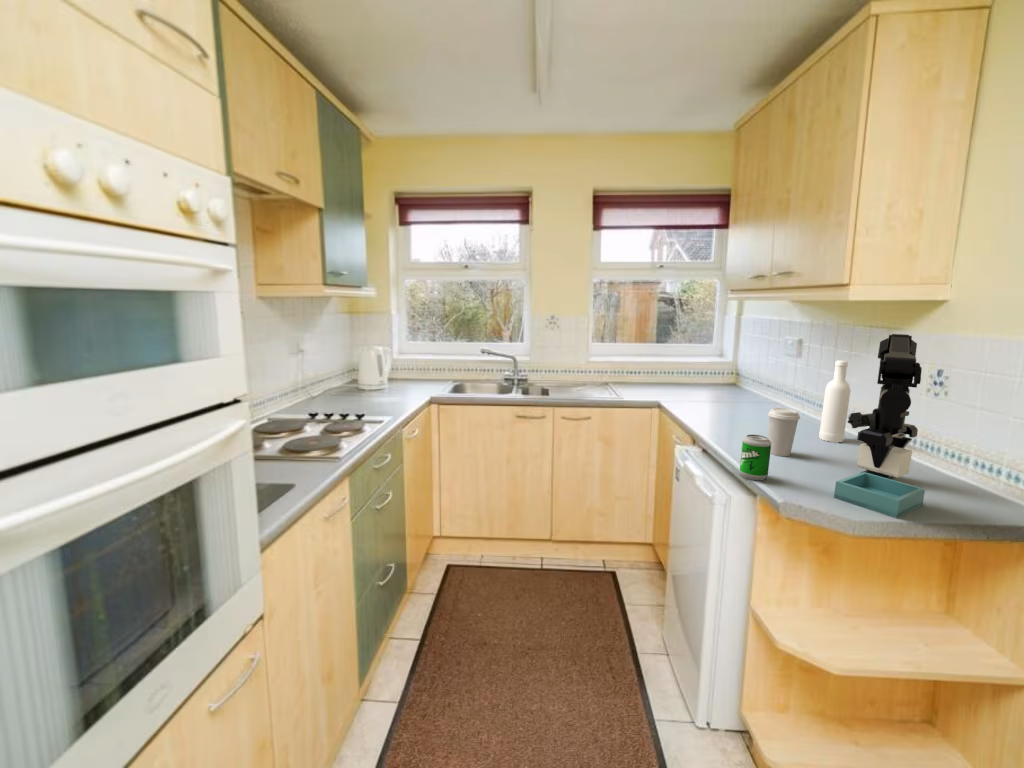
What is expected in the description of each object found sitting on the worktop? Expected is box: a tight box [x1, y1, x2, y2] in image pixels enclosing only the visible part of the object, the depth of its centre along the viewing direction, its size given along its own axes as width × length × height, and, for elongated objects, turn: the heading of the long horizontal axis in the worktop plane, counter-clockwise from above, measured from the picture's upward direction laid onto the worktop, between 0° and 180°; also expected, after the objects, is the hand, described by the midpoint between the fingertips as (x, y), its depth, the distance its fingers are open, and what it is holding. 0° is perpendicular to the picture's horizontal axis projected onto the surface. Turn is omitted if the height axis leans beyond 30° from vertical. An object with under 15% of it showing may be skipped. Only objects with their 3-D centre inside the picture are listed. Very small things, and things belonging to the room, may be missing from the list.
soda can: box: [739, 434, 771, 481], centre depth 143 cm, size 8×8×12 cm
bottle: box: [818, 359, 852, 443], centre depth 181 cm, size 8×8×30 cm
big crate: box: [833, 471, 926, 519], centre depth 127 cm, size 15×14×4 cm
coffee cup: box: [767, 407, 801, 457], centre depth 165 cm, size 10×10×15 cm
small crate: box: [856, 442, 913, 478], centre depth 126 cm, size 6×9×6 cm
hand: (882, 465), depth 126 cm, fingers closed on small crate, 6 cm apart
